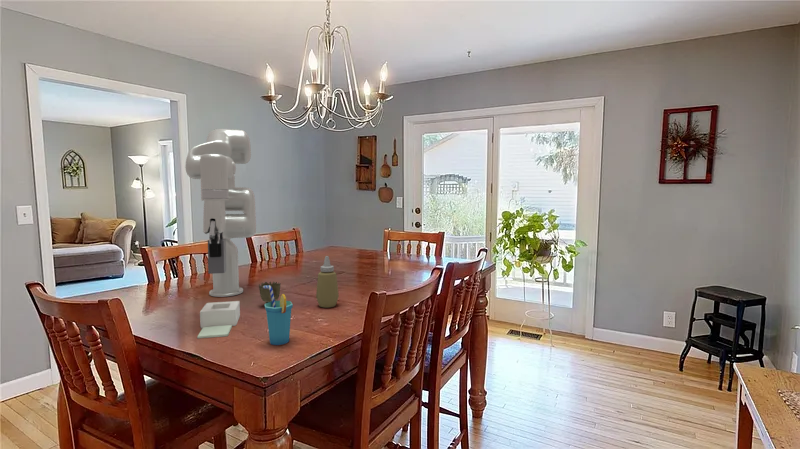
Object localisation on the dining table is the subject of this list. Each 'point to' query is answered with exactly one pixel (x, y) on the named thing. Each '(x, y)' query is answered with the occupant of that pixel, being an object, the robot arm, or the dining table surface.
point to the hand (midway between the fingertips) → (217, 255)
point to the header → (220, 314)
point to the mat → (215, 331)
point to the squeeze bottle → (327, 285)
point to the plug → (217, 260)
